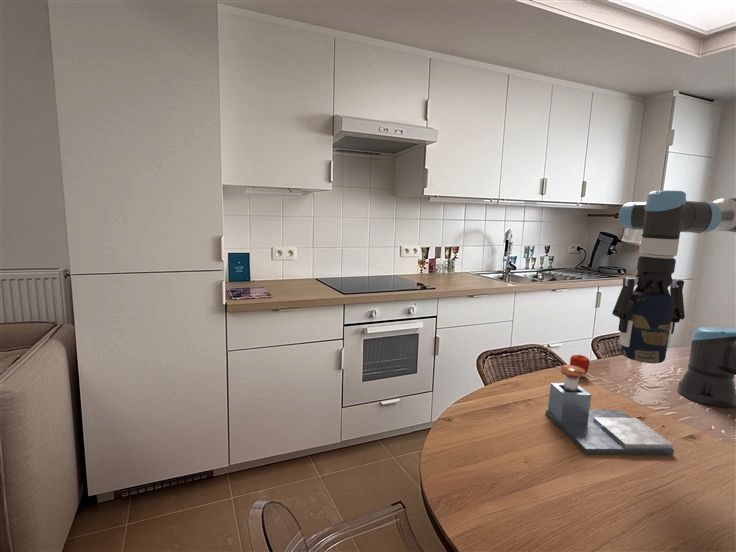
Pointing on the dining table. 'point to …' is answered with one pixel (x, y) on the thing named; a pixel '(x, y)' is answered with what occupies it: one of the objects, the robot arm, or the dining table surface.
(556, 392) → the grey l-shaped stand
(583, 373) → the pin
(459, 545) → the dining table surface
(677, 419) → the dining table surface
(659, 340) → the canister
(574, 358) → the apple
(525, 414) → the dining table surface
